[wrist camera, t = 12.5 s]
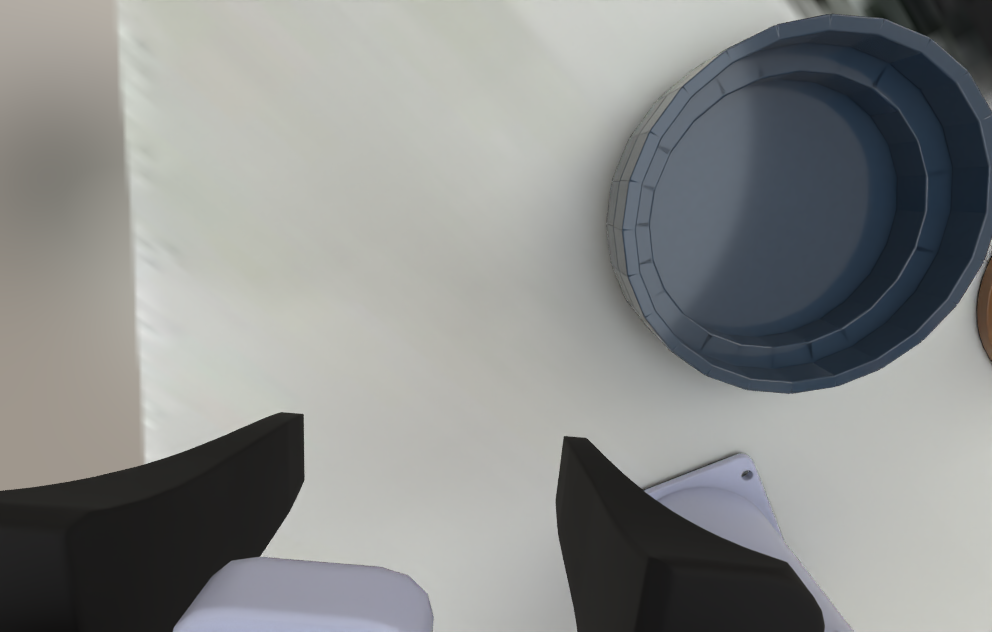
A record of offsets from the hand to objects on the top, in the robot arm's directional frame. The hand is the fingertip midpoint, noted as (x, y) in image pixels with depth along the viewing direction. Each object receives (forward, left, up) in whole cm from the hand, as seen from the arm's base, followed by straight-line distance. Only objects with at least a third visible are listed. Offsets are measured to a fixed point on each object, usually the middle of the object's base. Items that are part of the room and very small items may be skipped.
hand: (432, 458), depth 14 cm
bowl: (0, -14, -9) cm, 17 cm away
